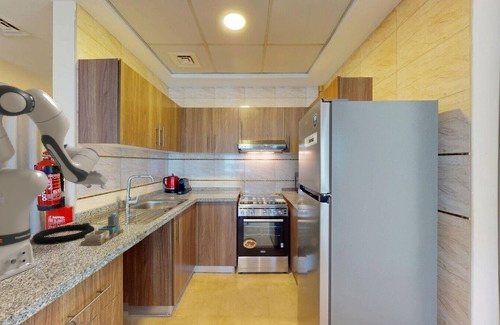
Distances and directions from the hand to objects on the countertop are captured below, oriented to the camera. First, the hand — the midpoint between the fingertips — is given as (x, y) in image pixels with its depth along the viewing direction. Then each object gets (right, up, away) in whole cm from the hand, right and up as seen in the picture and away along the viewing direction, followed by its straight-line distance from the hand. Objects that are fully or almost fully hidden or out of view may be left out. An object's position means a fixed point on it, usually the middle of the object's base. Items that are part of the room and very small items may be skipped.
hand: (96, 187), depth 133 cm
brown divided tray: (+7, -27, -5) cm, 28 cm away
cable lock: (-17, -28, +1) cm, 33 cm away
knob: (+2, -27, +12) cm, 30 cm away
